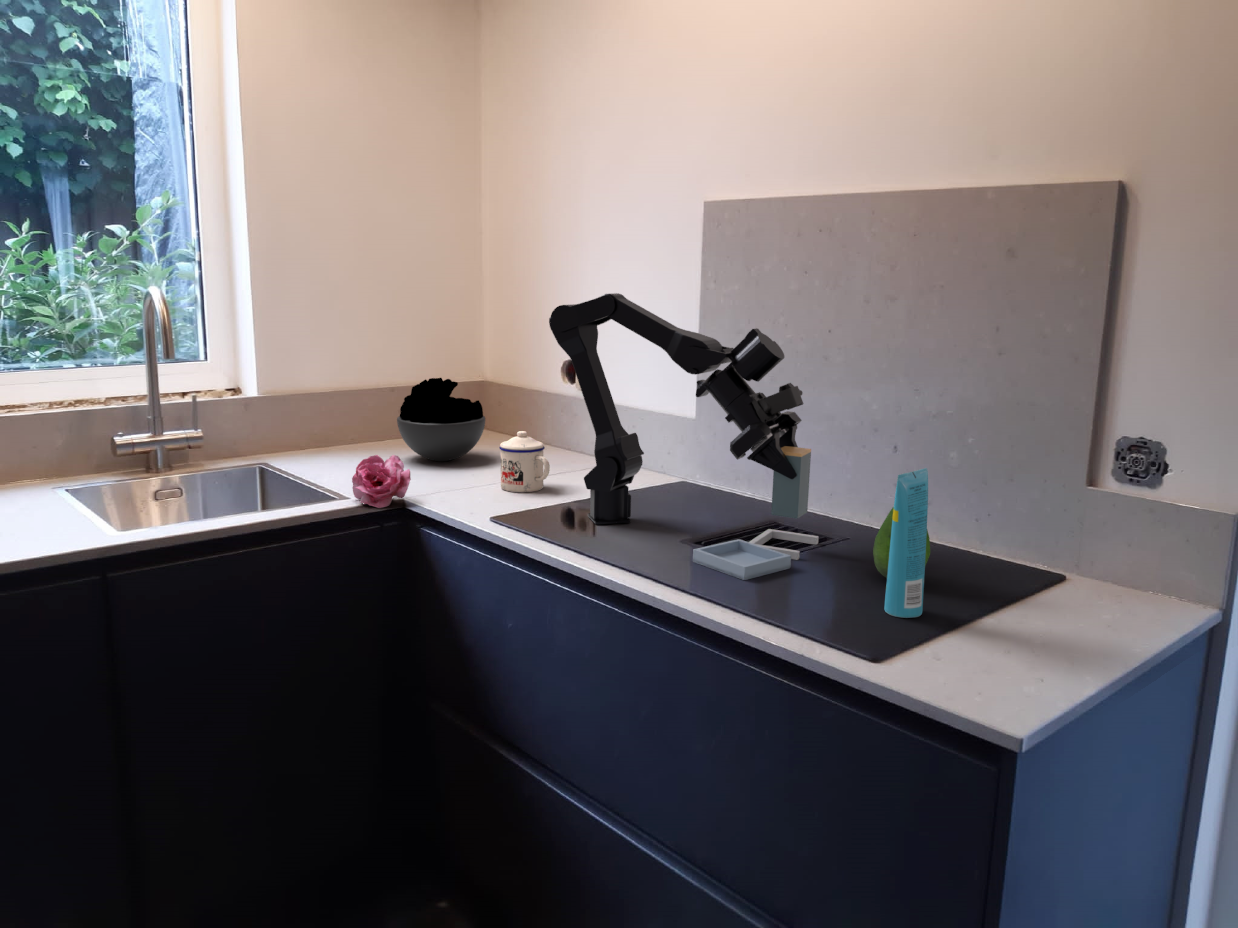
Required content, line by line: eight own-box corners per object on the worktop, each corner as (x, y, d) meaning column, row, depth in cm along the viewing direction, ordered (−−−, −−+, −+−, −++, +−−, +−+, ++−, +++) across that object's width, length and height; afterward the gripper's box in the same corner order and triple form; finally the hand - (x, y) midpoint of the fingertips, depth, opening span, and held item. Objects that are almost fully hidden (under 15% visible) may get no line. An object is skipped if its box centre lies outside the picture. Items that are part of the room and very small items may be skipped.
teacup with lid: (490, 488, 195) (489, 431, 192) (522, 481, 201) (522, 426, 199) (532, 497, 187) (532, 439, 185) (564, 490, 194) (564, 433, 192)
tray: (692, 561, 148) (693, 549, 147) (738, 551, 154) (738, 539, 153) (744, 580, 139) (744, 567, 139) (790, 568, 145) (791, 555, 145)
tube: (897, 601, 132) (908, 464, 128) (931, 609, 128) (943, 469, 125) (873, 615, 126) (884, 472, 122) (908, 624, 123) (920, 478, 119)
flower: (386, 526, 177) (352, 486, 173) (368, 518, 185) (336, 480, 181) (432, 486, 181) (400, 445, 177) (412, 480, 189) (382, 441, 185)
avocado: (919, 593, 135) (926, 510, 133) (864, 582, 139) (870, 502, 137) (933, 578, 142) (940, 499, 139) (881, 569, 146) (886, 492, 143)
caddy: (771, 514, 154) (774, 450, 152) (781, 508, 158) (785, 446, 156) (797, 518, 152) (801, 453, 150) (807, 512, 156) (811, 448, 154)
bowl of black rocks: (455, 449, 236) (454, 372, 232) (502, 461, 221) (502, 380, 217) (381, 458, 222) (379, 377, 218) (427, 472, 208) (425, 386, 204)
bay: (745, 551, 154) (745, 544, 153) (768, 535, 163) (768, 528, 163) (797, 559, 150) (797, 552, 149) (818, 543, 159) (818, 536, 159)
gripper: (752, 372, 144) (819, 452, 141) (792, 363, 160) (853, 434, 157) (702, 419, 149) (766, 497, 146) (746, 406, 165) (804, 476, 162)
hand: (800, 474), depth 153 cm, fingers closed on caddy, 5 cm apart
